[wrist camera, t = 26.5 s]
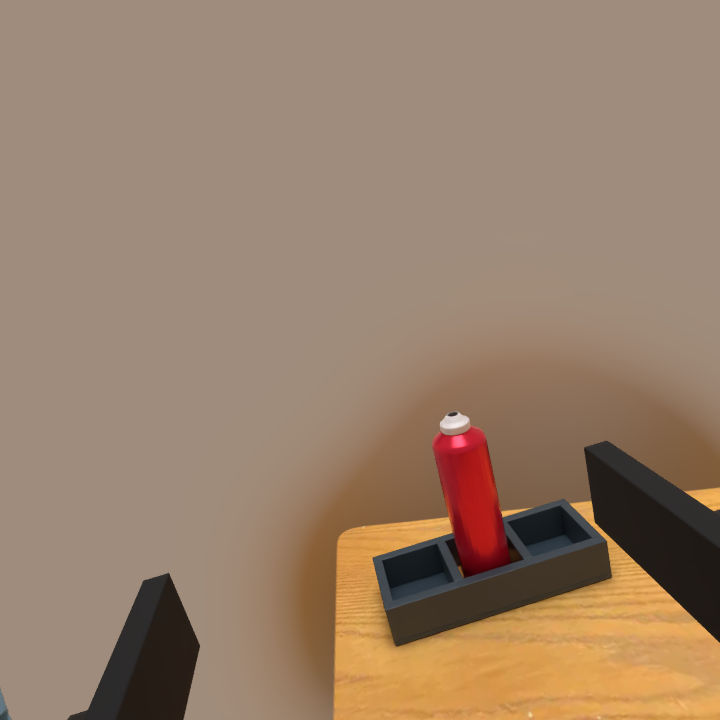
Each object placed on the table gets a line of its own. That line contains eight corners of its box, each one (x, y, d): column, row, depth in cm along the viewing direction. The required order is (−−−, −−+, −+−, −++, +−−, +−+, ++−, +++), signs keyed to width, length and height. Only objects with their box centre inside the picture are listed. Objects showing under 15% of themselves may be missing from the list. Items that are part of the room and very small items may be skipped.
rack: (612, 577, 53) (607, 540, 51) (395, 646, 51) (385, 610, 50) (569, 531, 61) (563, 498, 60) (381, 589, 59) (372, 557, 58)
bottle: (515, 595, 53) (479, 422, 47) (463, 597, 54) (422, 430, 49) (513, 559, 57) (480, 399, 52) (465, 562, 59) (428, 406, 54)
